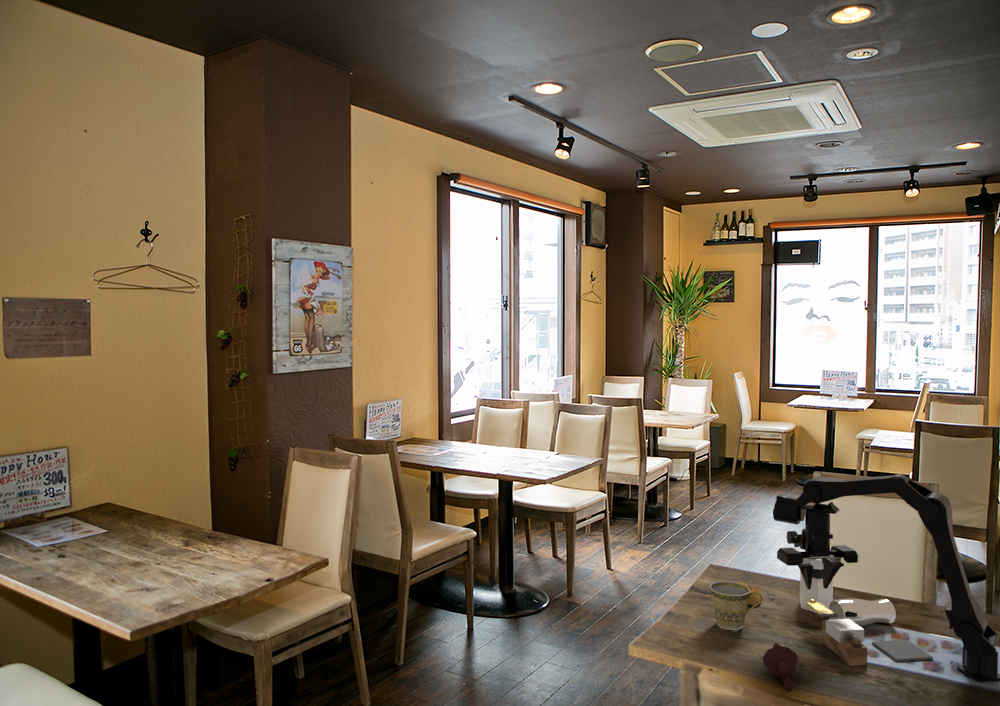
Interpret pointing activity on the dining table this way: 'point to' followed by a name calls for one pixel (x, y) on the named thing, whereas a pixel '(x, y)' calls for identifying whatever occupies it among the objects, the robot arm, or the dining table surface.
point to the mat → (902, 650)
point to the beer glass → (863, 611)
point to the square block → (844, 630)
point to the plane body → (846, 648)
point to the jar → (815, 587)
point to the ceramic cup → (731, 603)
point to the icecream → (781, 663)
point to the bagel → (754, 598)
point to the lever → (820, 609)
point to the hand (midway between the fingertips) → (816, 588)
